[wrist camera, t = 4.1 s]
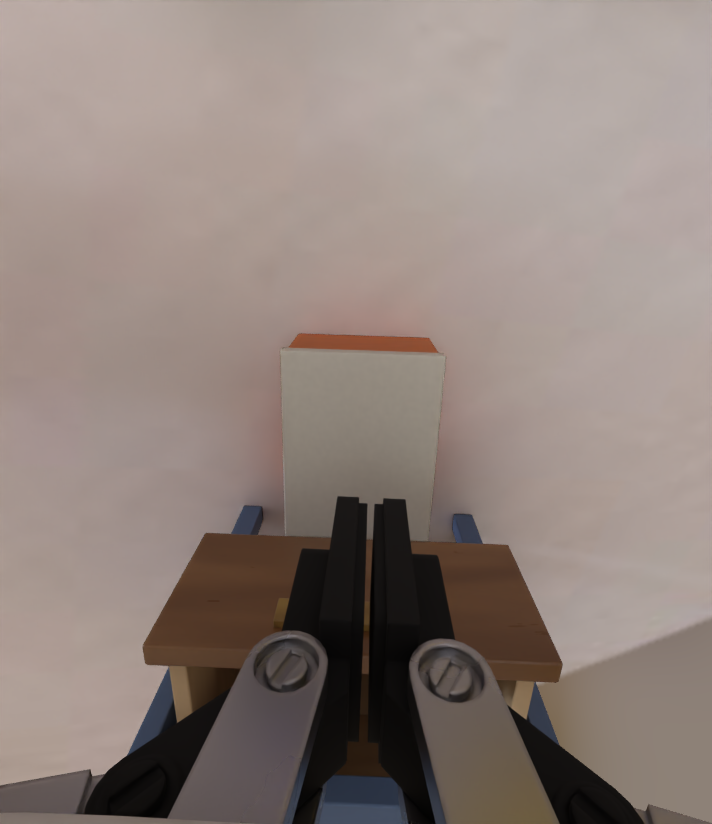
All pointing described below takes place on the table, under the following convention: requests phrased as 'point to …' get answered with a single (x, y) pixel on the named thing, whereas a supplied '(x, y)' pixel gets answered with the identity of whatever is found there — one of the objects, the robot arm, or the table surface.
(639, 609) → the table surface
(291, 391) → the storage box
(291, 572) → the drawer
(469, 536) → the drawer unit
